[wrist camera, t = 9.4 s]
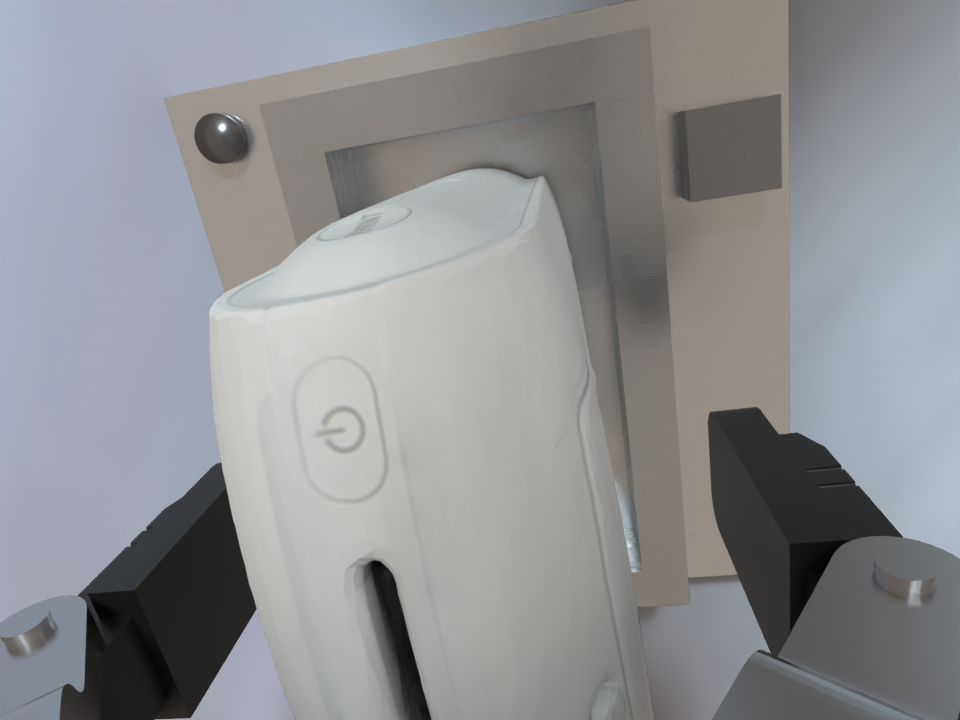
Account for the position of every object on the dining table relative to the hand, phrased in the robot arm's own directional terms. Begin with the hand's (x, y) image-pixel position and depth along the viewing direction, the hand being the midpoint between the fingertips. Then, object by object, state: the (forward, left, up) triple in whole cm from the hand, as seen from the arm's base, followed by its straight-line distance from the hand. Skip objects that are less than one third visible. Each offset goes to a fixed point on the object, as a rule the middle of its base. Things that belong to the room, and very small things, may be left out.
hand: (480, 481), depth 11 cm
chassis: (0, 0, -8) cm, 8 cm away
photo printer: (0, 0, -7) cm, 7 cm away
